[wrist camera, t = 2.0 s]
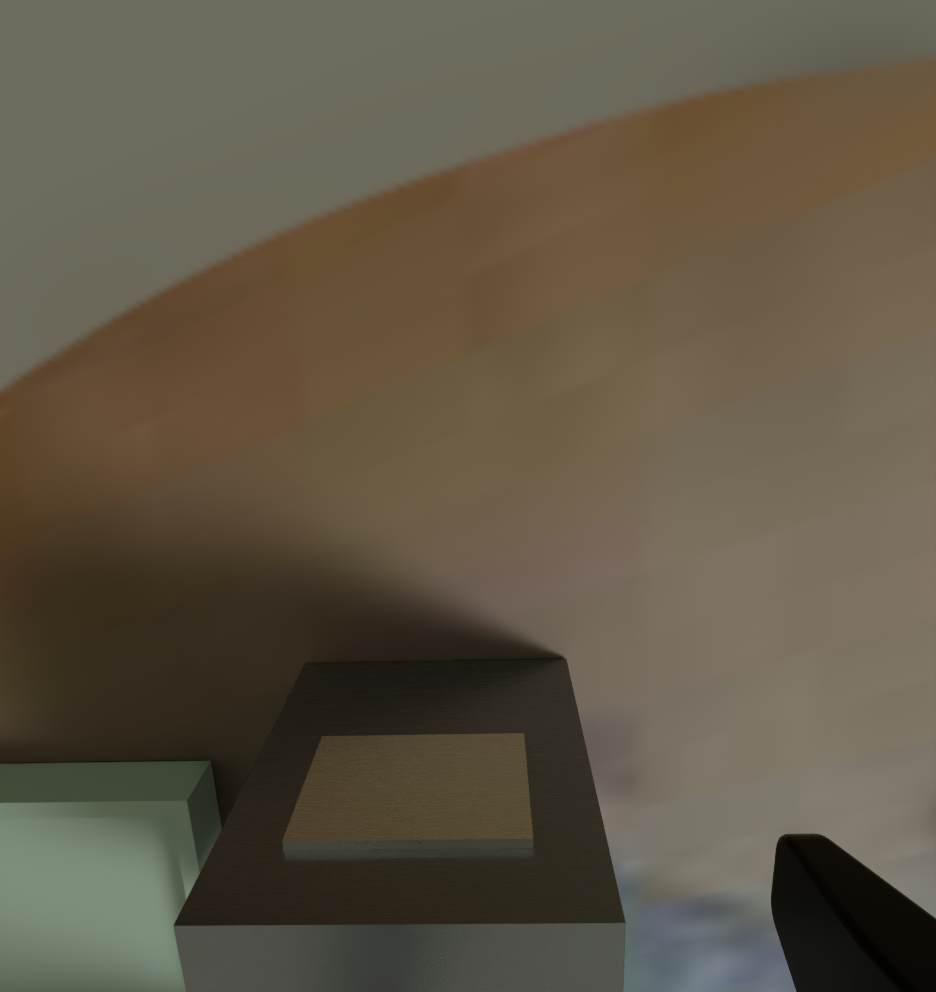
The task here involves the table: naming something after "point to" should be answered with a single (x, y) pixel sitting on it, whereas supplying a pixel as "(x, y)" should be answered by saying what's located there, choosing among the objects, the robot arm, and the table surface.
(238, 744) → the table surface
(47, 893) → the tray
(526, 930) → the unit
